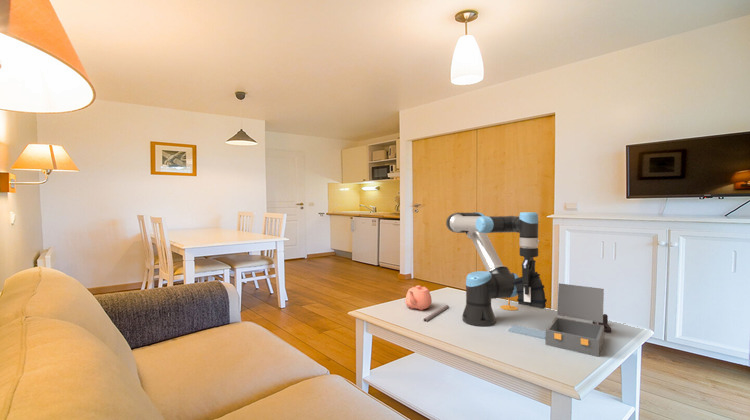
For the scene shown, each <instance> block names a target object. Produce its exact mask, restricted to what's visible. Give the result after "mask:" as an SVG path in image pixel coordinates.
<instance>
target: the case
mask: <svg viewBox="0 0 750 420" xmlns="http://www.w3.org/2000/svg"><path fill="white" fill-rule="evenodd" d="M545 332H546V338H545V345H546V346H549V347H553V348H558V349H563V350H568V351H571V352H576V353H581V354H585V355H590V356H593V357H597V358H598V357H600V355H601V352H602V347H603V346H604V342H605V332H604V326H603V325H598V322H595V324H593V323H590V322H586V321H579V320H573V319H570V318H562V317H554V318H553V320H552V321H551V322H550V323H549V325H548V326H547V327H546V329H545Z"/></svg>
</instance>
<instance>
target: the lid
mask: <svg viewBox="0 0 750 420" xmlns="http://www.w3.org/2000/svg"><path fill="white" fill-rule="evenodd" d="M557 287H558V292H557V307H556V308H557V309H556V310H557V312H556V316H559V317H567V318H571V319H572V318H573V319H576V320H577V319H578V320H582V321H589V322H592V321H594V322H600V323H603V315H604V299H605V298H604V295H605V293H604V290H605V289H604V288H601V287H600V288H598V287H593V286H592V287H591V286H582V285H577V284H576V285H575V284H567V283H558V286H557Z"/></svg>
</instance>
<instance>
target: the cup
mask: <svg viewBox="0 0 750 420" xmlns="http://www.w3.org/2000/svg"><path fill="white" fill-rule="evenodd" d="M507 299H508V300H507V302H508V303H507V305H506V304H503V305H501V306H500V309H502V310H504V311H518V310H519V307H517V306H515V305H511V297H510V298H507Z"/></svg>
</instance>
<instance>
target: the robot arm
mask: <svg viewBox="0 0 750 420" xmlns="http://www.w3.org/2000/svg"><path fill="white" fill-rule="evenodd" d="M539 221H540V220H539V214H538V213H537V212H535V211H533V212H531V211H530V212H529V211H527V212H526V211H524V212H523V211H522V212H520V213H519V215H517V216H516V215H505V216H501V215H500V216H498V215H495V216H490V215H487V216H486V215H485V214H484V213H482V212H476V211H475V212H454V213H451V214H449V215H448V217H447V218H446V221H445V225H446V228H447V229H448V231H451V232H453V233H457V234H465V235H466V237H467V238H468V239H470V240H471V241H472V243H473V245H474V247H475V250H476V251H477V253H478V256H479V258H480V259H481V261H482V264H483V266H484V269H485V270H484V271H483V270H482V271H480V270H479V271H473V272H469V273H468V274H467V275H466V277H465V306H464V309H463V312H462V315H461V317H462V321H463V323H466V324H468V325H471V326H477V327H478V326H479V327H490V326H493V325H494V324H496V317H495V314H494V311H493V308H492V299H493V300H494V299H496V300H497V299H505V298H506V299H508V298H510V299H511V298H515V297H518V293H516V291H517V289H516V286H515V284H513V280H514V279H516V278H519V275H518V274H517V273H514V272H511V271H510V269H509V267H508V266H505V265H504V264H503V261H501V258H500V257H499V255H498V253H497V250H496V249H495V247H494V246H493V243H492V241H491V240H490V238H489V236H488V234H490V233H492V234H493V233H494V234H495V233H501V234H502V233H516V234H517V233H519V240H518V241H519V256H520V257H523V260H522V263H521V277H522V286H523V287H524V301H525V302H531V287H530V278H531V273H534V272H536V262H537V261H536V260H535V258H537V257H539V243H540V241H541V240H539V223H540V222H539Z"/></svg>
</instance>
